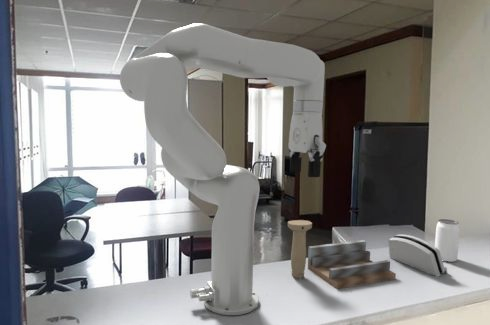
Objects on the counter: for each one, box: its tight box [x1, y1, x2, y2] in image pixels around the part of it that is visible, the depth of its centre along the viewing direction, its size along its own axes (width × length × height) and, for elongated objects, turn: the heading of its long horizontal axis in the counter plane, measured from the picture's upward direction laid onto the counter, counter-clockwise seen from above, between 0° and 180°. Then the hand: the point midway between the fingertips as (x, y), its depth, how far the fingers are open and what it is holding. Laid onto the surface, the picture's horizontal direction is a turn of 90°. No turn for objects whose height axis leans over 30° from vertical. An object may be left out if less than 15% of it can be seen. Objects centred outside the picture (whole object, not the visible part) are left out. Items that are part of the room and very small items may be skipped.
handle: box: [287, 219, 313, 279], centre depth 104 cm, size 5×6×15 cm
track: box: [307, 239, 397, 290], centre depth 107 cm, size 19×14×6 cm
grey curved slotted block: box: [387, 234, 448, 277], centre depth 114 cm, size 17×5×10 cm, turn 28°
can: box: [434, 218, 461, 263], centre depth 120 cm, size 6×6×12 cm
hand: (304, 174), depth 101 cm, fingers open, 9 cm apart
